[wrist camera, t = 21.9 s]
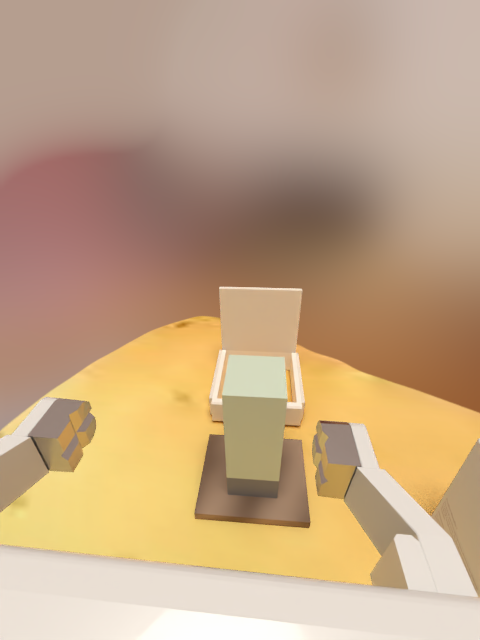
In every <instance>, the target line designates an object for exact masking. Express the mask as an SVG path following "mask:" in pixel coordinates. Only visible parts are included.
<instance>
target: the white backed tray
mask: <svg viewBox="0 0 480 640" xmlns="http://www.w3.org/2000/svg"><path fill="white" fill-rule="evenodd" d="M219 294H220V314H221V333H222V350H220V351H219V356H218V360H217V365H216V369H215V374H214V378H213V383H212V387H211V392H210V396H209V402H210V413H211V414H212V421H223V406H222V392H223V386H224V381H225V375H226V369H227V364H228V358H229V355H247V356H271V357H285V370H290V378H291V389H292V401H293V402H287V408H286V418H285V425H298V426H300V422H301V419H303V413H304V406H305V400H304V393H303V385H302V378H301V370H300V363H299V355H298V353H296V344H297V335H298V325H299V316H300V307H301V298H302V289H289V288H248V287H220V288H219Z"/></svg>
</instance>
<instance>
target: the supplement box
mask: <svg viewBox="0 0 480 640" xmlns="http://www.w3.org/2000/svg"><path fill="white" fill-rule="evenodd" d="M431 517H432V518H433V519H434V520H435V521H436V522H437V524H438V525H439V526H440V527H441V528H442V529H443V530H444V531H445V532H446V533H447V534H448V535H449V536H450V537H451V538H452V539H453V542H454V544H455V546H456V548H457V551H458V553H459V555H460V557H461V560H462V562H463V564H464V566H465V568H466V571H467V573H468V575H469V577H470V580H471V582H472V584H473V586H474V589H475V591H476V593H477V595H478V597H480V439H478V440H477V442H476V444H475V445H474V447H473V448H472V450H471V452H470V453H469V455H468V457H467V458H466V460H465V462H464V463H463V465H462V467H461V468H460V470H459V472H458V473H457V475H456V476H455V478H454V480H453V481H452V483H451V484H450V486H449V488H448V489H447V491H446V493H445V494H444V496H443V498H442V499H441V501H440V503H439V504H438V506H437V507H436V509H435V511H434V512H433V514H432V516H431Z"/></svg>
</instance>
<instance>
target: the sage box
mask: <svg viewBox="0 0 480 640" xmlns="http://www.w3.org/2000/svg"><path fill="white" fill-rule="evenodd" d="M222 406H223V423H224V440H225V457H226V474H227V492H228V495H239V496H252V497H265V498H277V497H278V487H279V477H280V467H281V457H282V447H283V437H284V428H285V418H286V408H287V385H286V371H285V357H271V356H247V355H229V358H228V364H227V369H226V375H225V381H224V386H223V392H222Z"/></svg>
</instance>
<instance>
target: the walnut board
mask: <svg viewBox="0 0 480 640" xmlns="http://www.w3.org/2000/svg"><path fill="white" fill-rule="evenodd" d="M195 519H208V520H220V521H232V522H244V523H257V524H269V525H281V526H294V527H306V528H309V526H310V516H309V506H308V497H307V487H306V478H305V469H304V459H303V450H302V440H294V439H283V447H282V457H281V467H280V477H279V487H278V497H277V498H265V497H252V496H239V495H228V492H227V474H226V457H225V440H224V435H211V434H210V436H209V441H208V446H207V451H206V457H205V462H204V467H203V472H202V477H201V483H200V488H199V493H198V498H197V503H196V508H195Z"/></svg>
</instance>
